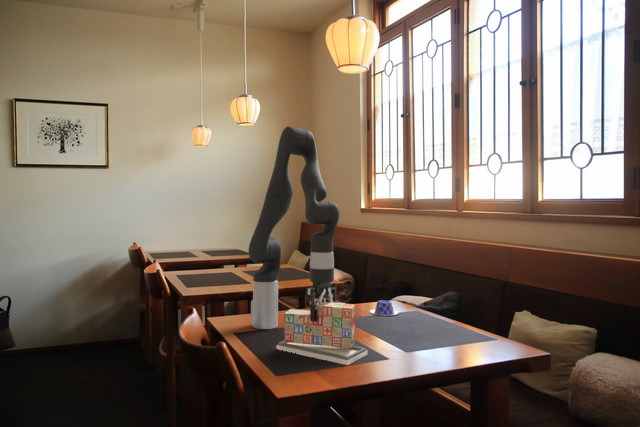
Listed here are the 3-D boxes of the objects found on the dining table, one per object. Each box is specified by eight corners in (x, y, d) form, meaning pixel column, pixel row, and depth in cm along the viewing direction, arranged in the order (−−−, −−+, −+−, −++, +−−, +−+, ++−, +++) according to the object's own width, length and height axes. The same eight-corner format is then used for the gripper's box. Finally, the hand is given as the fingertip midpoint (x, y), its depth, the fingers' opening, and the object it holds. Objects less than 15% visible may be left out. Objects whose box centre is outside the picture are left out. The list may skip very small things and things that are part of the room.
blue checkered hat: (364, 314, 206) (364, 301, 206) (379, 309, 215) (379, 297, 215) (389, 318, 199) (389, 305, 198) (403, 313, 208) (403, 301, 208)
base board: (276, 349, 156) (276, 342, 156) (299, 340, 166) (299, 334, 165) (347, 365, 141) (347, 358, 141) (367, 354, 151) (367, 347, 151)
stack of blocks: (283, 343, 153) (283, 303, 152) (289, 337, 159) (289, 299, 159) (351, 348, 148) (352, 307, 148) (355, 342, 154) (355, 303, 154)
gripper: (319, 269, 145) (318, 325, 145) (344, 264, 156) (343, 316, 157) (298, 267, 149) (297, 321, 149) (324, 262, 161) (323, 312, 161)
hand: (321, 318), depth 153 cm, fingers closed on stack of blocks, 7 cm apart
